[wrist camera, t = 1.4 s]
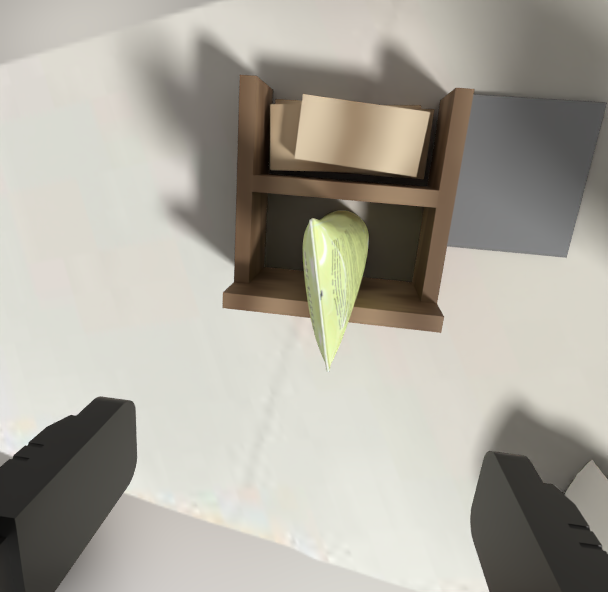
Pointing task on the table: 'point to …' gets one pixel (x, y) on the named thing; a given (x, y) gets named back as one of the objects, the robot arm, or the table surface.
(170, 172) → the table surface
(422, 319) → the rack
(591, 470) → the toilet tissue
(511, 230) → the mat
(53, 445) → the robot arm
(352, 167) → the offcut stack
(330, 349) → the tube
